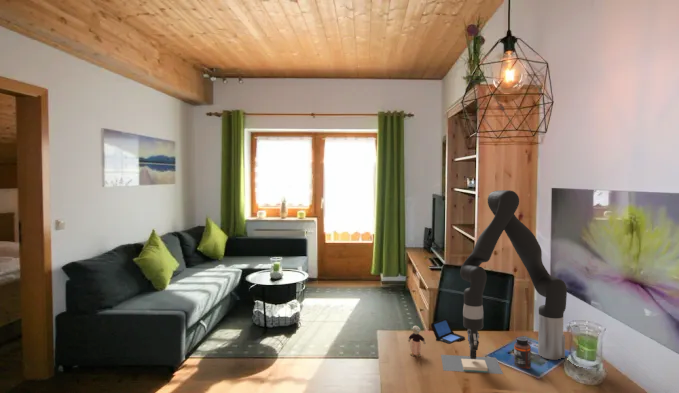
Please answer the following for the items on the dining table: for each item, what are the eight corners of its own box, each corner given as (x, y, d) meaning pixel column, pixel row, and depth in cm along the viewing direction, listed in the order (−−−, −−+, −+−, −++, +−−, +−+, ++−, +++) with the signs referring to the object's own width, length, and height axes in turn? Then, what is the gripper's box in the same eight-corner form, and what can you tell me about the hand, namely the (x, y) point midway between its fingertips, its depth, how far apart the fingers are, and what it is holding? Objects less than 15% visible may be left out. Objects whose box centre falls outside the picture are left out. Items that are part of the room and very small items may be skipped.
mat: (495, 359, 171) (495, 357, 170) (503, 376, 157) (503, 374, 157) (440, 356, 174) (440, 354, 174) (443, 372, 161) (443, 370, 161)
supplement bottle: (529, 364, 166) (530, 336, 165) (531, 371, 160) (531, 342, 160) (513, 362, 168) (513, 334, 167) (514, 369, 162) (514, 340, 162)
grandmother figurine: (406, 356, 175) (406, 326, 175) (408, 352, 179) (407, 323, 178) (425, 358, 173) (425, 328, 172) (426, 354, 177) (426, 325, 176)
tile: (484, 359, 165) (487, 368, 158) (484, 363, 165) (487, 372, 158) (461, 358, 167) (463, 366, 160) (461, 362, 167) (463, 370, 160)
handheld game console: (449, 346, 185) (449, 330, 184) (430, 339, 193) (429, 323, 193) (466, 339, 192) (465, 323, 192) (446, 332, 201) (446, 317, 200)
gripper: (485, 321, 156) (485, 366, 157) (480, 310, 169) (480, 351, 170) (465, 320, 158) (465, 365, 159) (461, 309, 171) (461, 350, 172)
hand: (473, 358), depth 164 cm, fingers closed
